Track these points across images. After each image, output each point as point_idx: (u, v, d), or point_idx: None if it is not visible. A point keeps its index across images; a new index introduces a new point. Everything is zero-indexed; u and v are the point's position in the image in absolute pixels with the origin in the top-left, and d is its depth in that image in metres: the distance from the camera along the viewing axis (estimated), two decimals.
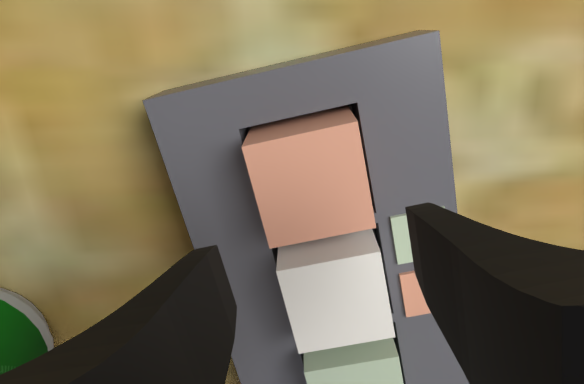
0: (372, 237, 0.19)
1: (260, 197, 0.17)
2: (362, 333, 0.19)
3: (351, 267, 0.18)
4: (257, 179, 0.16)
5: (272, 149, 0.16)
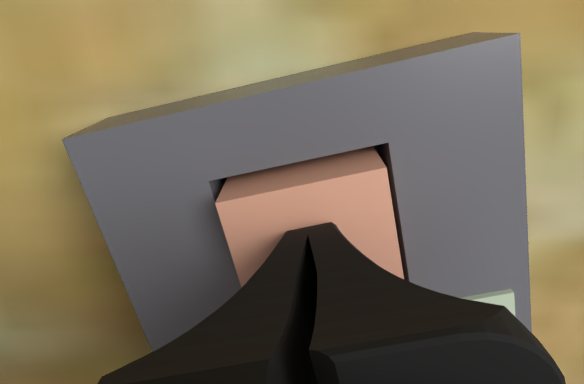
0: None
1: (243, 271, 0.12)
2: None
3: None
4: (239, 248, 0.11)
5: (260, 206, 0.11)
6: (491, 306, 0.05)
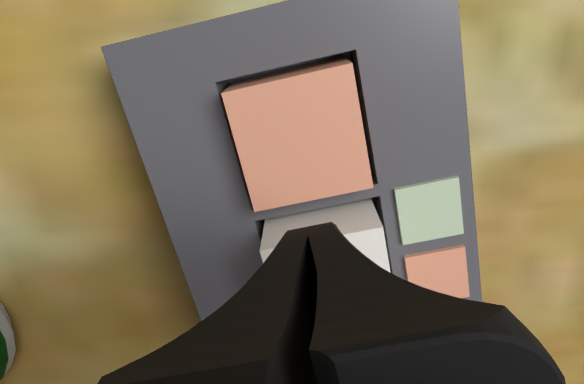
0: (373, 212, 0.16)
1: (243, 152, 0.15)
2: None
3: None
4: (239, 131, 0.15)
5: (256, 96, 0.14)
6: (491, 306, 0.05)
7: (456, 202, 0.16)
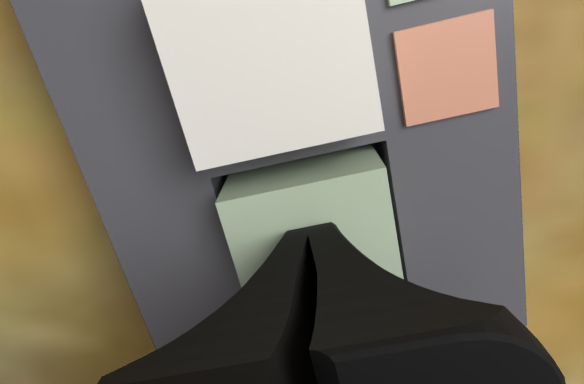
0: None
1: None
2: (319, 123, 0.10)
3: None
4: None
5: None
6: (491, 306, 0.05)
7: None
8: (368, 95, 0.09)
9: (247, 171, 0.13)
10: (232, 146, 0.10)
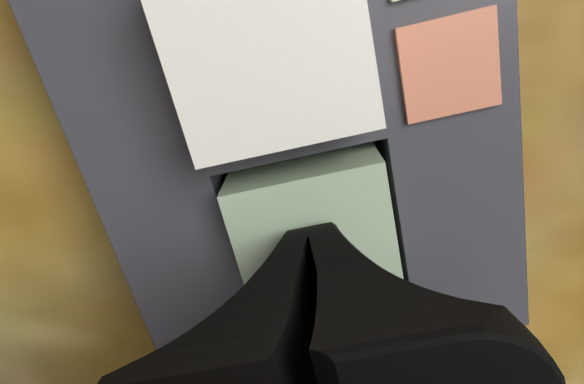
0: None
1: None
2: (320, 120, 0.09)
3: None
4: None
5: None
6: (491, 306, 0.05)
7: None
8: (369, 92, 0.09)
9: None
10: (232, 144, 0.10)
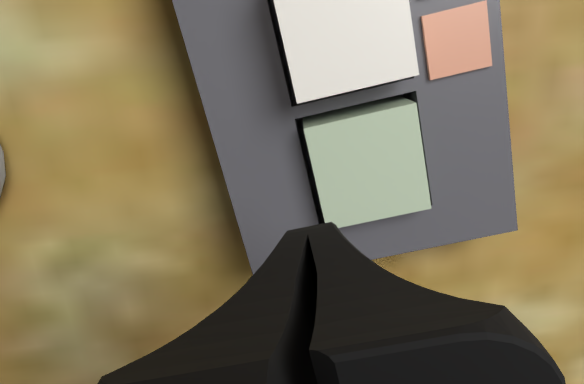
0: None
1: None
2: (377, 70, 0.15)
3: None
4: None
5: None
6: (491, 306, 0.05)
7: None
8: (409, 51, 0.15)
9: (316, 117, 0.19)
10: (321, 86, 0.15)
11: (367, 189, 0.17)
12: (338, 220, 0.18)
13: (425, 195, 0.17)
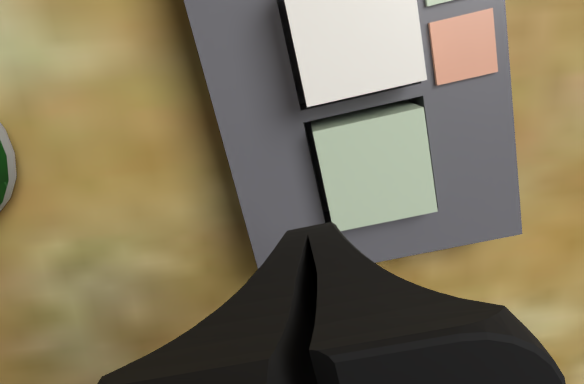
0: None
1: None
2: (386, 75, 0.15)
3: None
4: None
5: None
6: (491, 306, 0.05)
7: None
8: (417, 57, 0.15)
9: (324, 120, 0.19)
10: (331, 90, 0.16)
11: (374, 192, 0.18)
12: (345, 222, 0.18)
13: (431, 198, 0.18)
